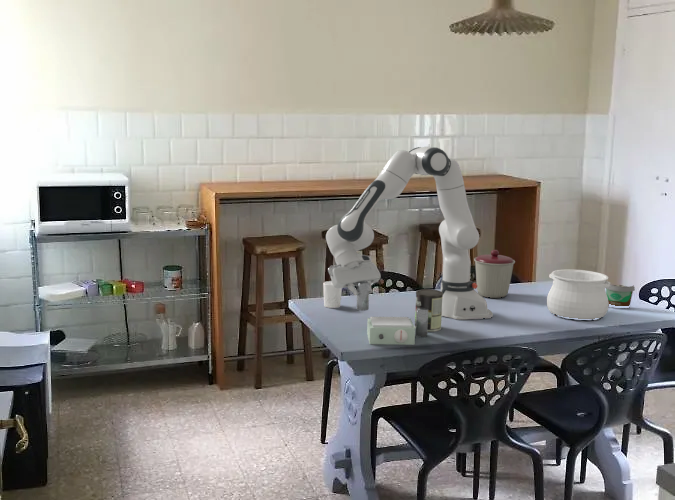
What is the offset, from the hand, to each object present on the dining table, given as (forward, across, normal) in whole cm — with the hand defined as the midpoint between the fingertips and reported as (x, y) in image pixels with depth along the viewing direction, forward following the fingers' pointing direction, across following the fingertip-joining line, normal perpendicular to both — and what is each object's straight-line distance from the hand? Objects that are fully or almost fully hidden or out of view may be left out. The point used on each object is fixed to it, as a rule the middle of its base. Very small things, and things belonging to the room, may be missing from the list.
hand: (363, 293), depth 291 cm
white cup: (-15, +10, +36) cm, 40 cm away
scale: (+20, +2, 0) cm, 20 cm away
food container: (+31, +115, -7) cm, 120 cm away
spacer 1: (+4, 0, +5) cm, 6 cm away
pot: (+29, +90, -6) cm, 95 cm away
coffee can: (+17, +24, +4) cm, 30 cm away
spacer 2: (+22, +15, -1) cm, 26 cm away
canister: (0, +83, +22) cm, 86 cm away
